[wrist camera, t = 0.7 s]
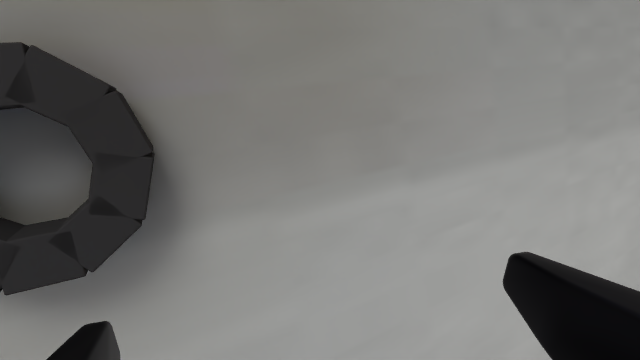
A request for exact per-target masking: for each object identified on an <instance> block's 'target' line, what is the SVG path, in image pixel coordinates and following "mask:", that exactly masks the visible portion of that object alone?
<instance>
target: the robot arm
mask: <svg viewBox="0 0 640 360" xmlns="http://www.w3.org/2000/svg"><path fill="white" fill-rule="evenodd" d="M503 286H504V289H505V291H506V292H507V294H508V296H509V297H510V299H511V300H512V302H513V303H514V305H515V306H516V308H517V309H518V311H519V312H520V314H521V315H522V317H523V318H524V320H525V321H526V323H527V324H528V326H529V327H530V329H531V331H532V332H533V334H534V335H535V337H536V338H537V340H538V341H539V342H540V344H541V345H542V347H543V348H544V349H545V351H546V352H547V353H548V355H549V356H550V357H551V359H552V360H640V292H639V291H637V290H634V289H631V288H628V287H625V286H623V285H620V284H617V283H614V282H611V281H609V280H606V279H603V278H600V277H597V276H595V275H592V274H589V273H586V272H583V271H581V270H578V269H575V268H572V267H569V266H567V265H564V264H561V263H558V262H555V261H552V260H550V259H547V258H544V257H541V256H538V255H536V254H533V253H530V252H521V253H515V254H512V255H511V256H510V257H509V259H508V263H507V267H506V270H505V274H504V278H503ZM46 360H120V351H119V347H118V344H117V341H116V338H115V334H114V331H113V328H112V325H111V324H110V323H109V322H107V321H103V322H97V323H91V324H86V325H84V326H83V327H81V328H80V329H79V330H78V331H77V332H76V333H75V334H74V335H72V336H71V337H70V338H69V339H68V340H67V341H66V342H65V343H64V344H63V345H62V346H61V347H59V348H58V349H57V350H56V351H55V352H54V353H53V354H52V355H51V356H50V357H49V358H48V359H46Z"/></svg>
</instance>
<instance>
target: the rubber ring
mask: <svg viewBox="0 0 640 360" xmlns="http://www.w3.org/2000/svg"><path fill="white" fill-rule="evenodd" d="M22 107H25V108H27V109H30V110H32V111H34V112H36V113H39V114H41V115H43V116H45V117H48V118H50V119H52V120H54V121H57V122H59V123H61V124H63V125H66V126H68V127H69V128H70V130H71V131H72V133H73V134H74V136H75V137H76V139H77V140H78V142H79V143H80V145H81V146H82V148H83V149H84V151H85V152H86V154H87V155H88V157H89V158H90V160H91V161H92V163H93V167H92V175H91V183H90V191H89V199H88V200H87V201H86V202H85V203H83V204H82V205H81V206H80V207H79V208H78V209H77V210H76V211H75V212H74V213H73V214H71V215H70V216H69V217H68V218H63V219H58V220H52V221H47V222H41V223H36V224H31V225H22V224H19V223H16V222H13V221H10V220H7V219H3V218H0V292H1V291H2V289H3V291H4V294H5V295H10V294H14V293H18V292H23V291H27V290H31V289H35V288H39V287H43V286H47V285H51V284H56V283H60V282H64V281H68V280H72V279H76V278H80V277H84V276H86V274H87V272H88V270H89V271H90V272H94V271H95V270H96V269H97V268H98V267H99V266H100V265H101V264H102V263H103V262H104V261H105V260H106V259H107V258H108V257H110V256H111V255H112V254H113V253H114V252H115V251H116V250H117V249H118V248H119V247H120V246H121V245H122V244H123V243H124V242H125V241H126V240H127V239H128V238H129V237H130V236H131V235H132V234H133V233H134V232H136V231H137V230H138V229H139V228H140V227H141V225H142V220H144V219H145V217H146V210H147V203H148V196H149V189H150V182H151V175H152V168H153V161H154V153H153V152H152V150H153V146H152V144H151V142H150V140H149V139H148V137H147V135H146V134H145V132H144V130H143V129H142V127H141V125H140V124H139V122H138V120H137V118H136V117H135V115H134V113H133V112H132V110H131V108H130V107H129V105H128V103H127V102H126V100H125V98H124V96H123V95H122V94H121V93H119V92H117V91H116V88H115V87H113V86H111V85H109V84H107V83H105V82H103V81H101V80H99V79H97V78H95V77H93V76H91V75H90V74H88V73H86V72H84V71H82V70H80V69H78V68H76V67H74V66H72V65H70V64H68V63H66V62H64V61H62V60H60V59H58V58H57V57H55V56H53V55H51V54H49V53H47V52H45V51H43V50H41V49H39V48H37V47H35V46H32V45H31V46H30V47H29V46H27V45H25V44H23V43H21V42H17V43H0V109H10V108H22Z"/></svg>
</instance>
